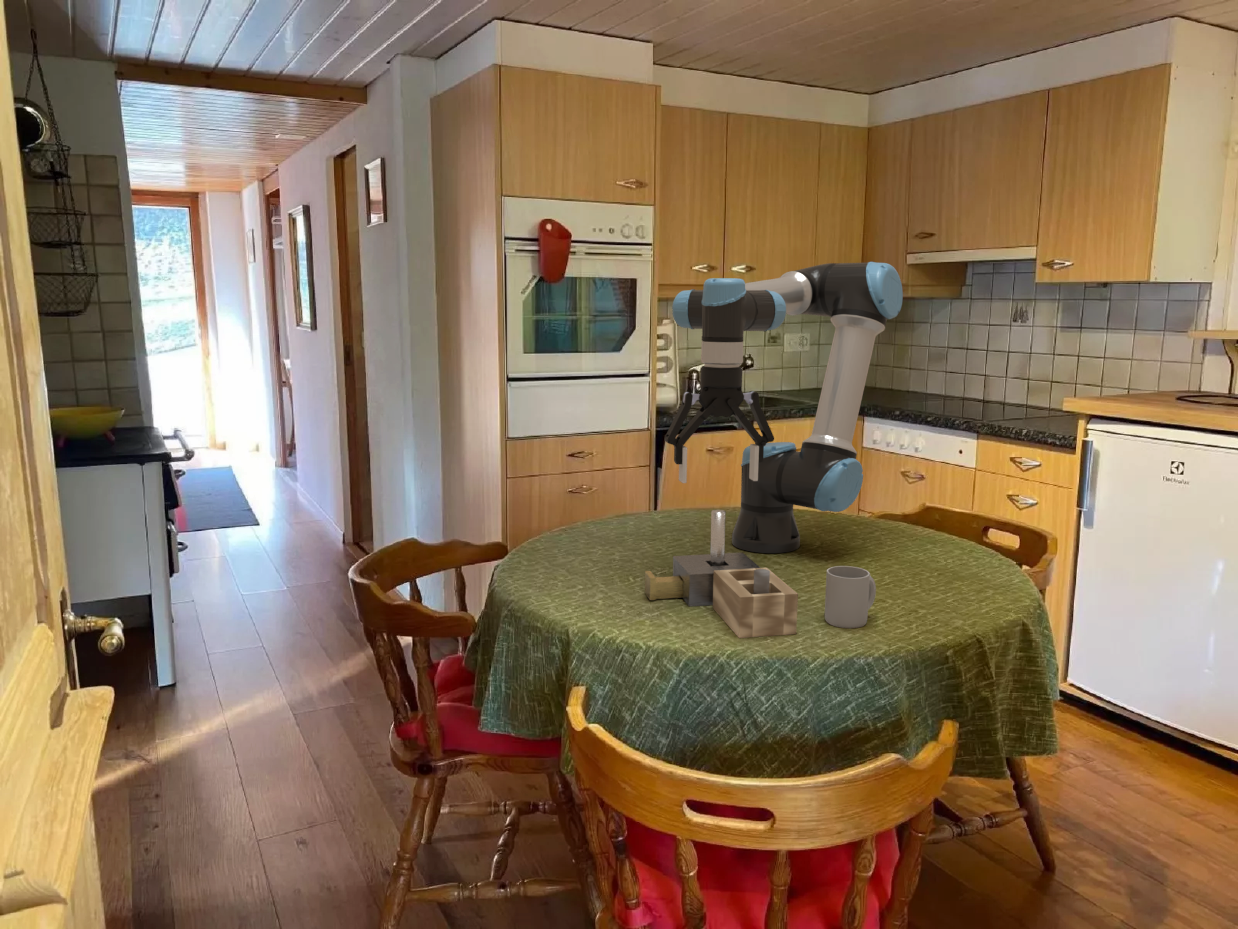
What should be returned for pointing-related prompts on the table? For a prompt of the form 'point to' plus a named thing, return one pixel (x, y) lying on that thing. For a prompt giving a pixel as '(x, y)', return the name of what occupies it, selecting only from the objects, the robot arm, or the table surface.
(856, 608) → the cup
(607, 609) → the table surface
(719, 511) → the round-ended peg
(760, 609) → the rack
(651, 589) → the brass square peg
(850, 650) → the table surface
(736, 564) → the socket block
